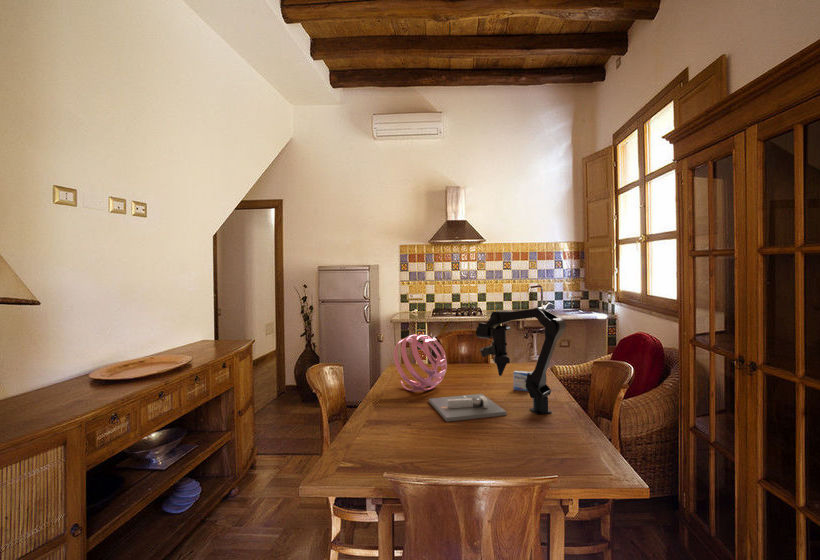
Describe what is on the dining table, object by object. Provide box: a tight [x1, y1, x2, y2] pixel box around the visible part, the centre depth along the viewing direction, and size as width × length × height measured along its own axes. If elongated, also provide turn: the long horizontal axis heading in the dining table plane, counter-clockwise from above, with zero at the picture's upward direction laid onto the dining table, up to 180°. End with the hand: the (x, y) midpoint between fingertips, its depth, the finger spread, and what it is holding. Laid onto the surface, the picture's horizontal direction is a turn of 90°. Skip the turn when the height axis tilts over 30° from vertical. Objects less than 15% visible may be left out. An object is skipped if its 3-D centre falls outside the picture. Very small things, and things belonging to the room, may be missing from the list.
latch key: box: [447, 395, 488, 408], centre depth 176 cm, size 16×7×3 cm, turn 96°
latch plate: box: [428, 393, 507, 422], centre depth 179 cm, size 25×25×2 cm
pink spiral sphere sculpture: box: [393, 333, 448, 392], centre depth 209 cm, size 28×28×27 cm
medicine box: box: [512, 370, 530, 392], centre depth 204 cm, size 8×4×9 cm, turn 62°
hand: (500, 375), depth 184 cm, fingers closed
